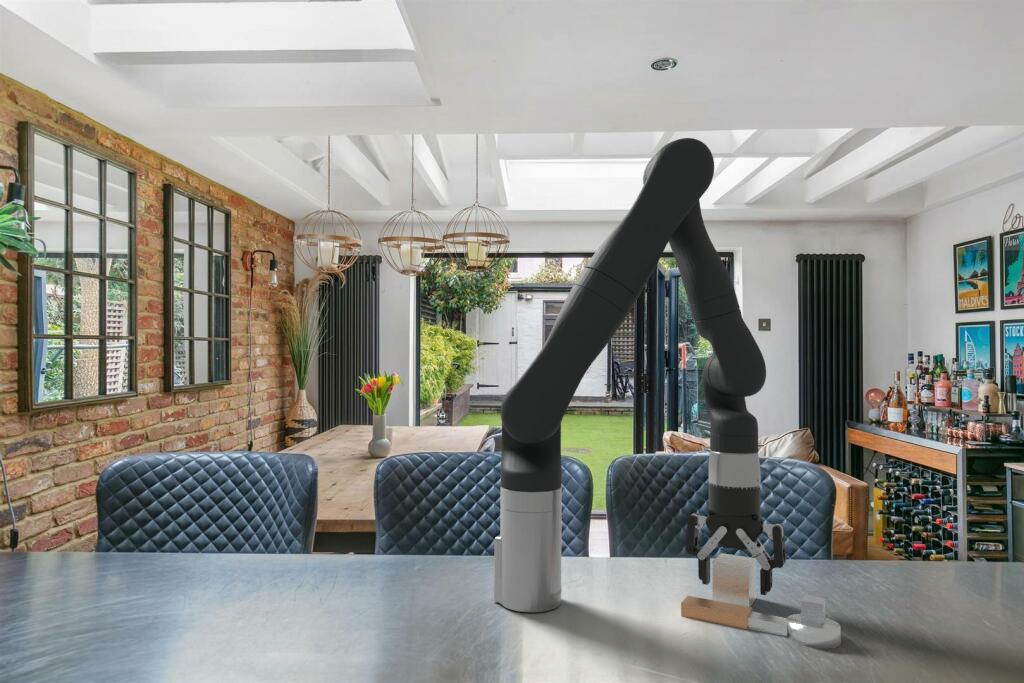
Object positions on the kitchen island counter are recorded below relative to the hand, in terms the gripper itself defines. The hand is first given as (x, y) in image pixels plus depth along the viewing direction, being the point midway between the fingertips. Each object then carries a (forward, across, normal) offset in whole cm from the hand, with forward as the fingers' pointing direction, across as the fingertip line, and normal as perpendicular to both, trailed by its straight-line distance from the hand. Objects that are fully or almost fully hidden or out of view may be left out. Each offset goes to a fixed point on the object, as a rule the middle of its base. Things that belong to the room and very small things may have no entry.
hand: (734, 588), depth 100 cm
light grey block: (+2, 0, 0) cm, 2 cm away
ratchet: (+2, +5, -9) cm, 10 cm away
